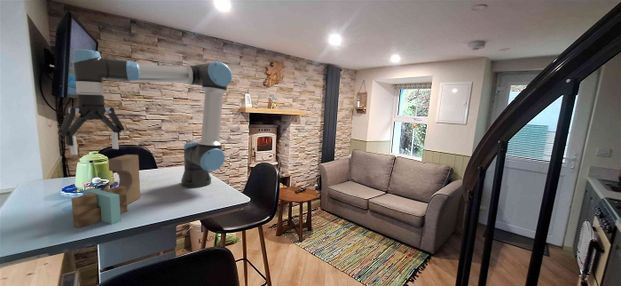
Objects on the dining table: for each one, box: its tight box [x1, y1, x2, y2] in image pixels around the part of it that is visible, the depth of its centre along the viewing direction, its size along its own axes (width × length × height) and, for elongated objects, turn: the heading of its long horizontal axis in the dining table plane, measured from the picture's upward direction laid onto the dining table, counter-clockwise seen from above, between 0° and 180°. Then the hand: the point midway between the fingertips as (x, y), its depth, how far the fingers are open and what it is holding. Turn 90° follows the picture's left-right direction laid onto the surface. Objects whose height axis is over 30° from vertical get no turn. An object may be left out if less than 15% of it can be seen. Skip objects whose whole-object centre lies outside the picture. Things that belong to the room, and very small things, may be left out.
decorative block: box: [107, 154, 141, 206], centre depth 110 cm, size 11×6×20 cm, turn 0°
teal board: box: [82, 187, 121, 225], centre depth 95 cm, size 16×3×10 cm, turn 68°
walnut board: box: [71, 185, 128, 229], centre depth 95 cm, size 16×3×10 cm, turn 158°
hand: (96, 151), depth 97 cm, fingers open, 13 cm apart
